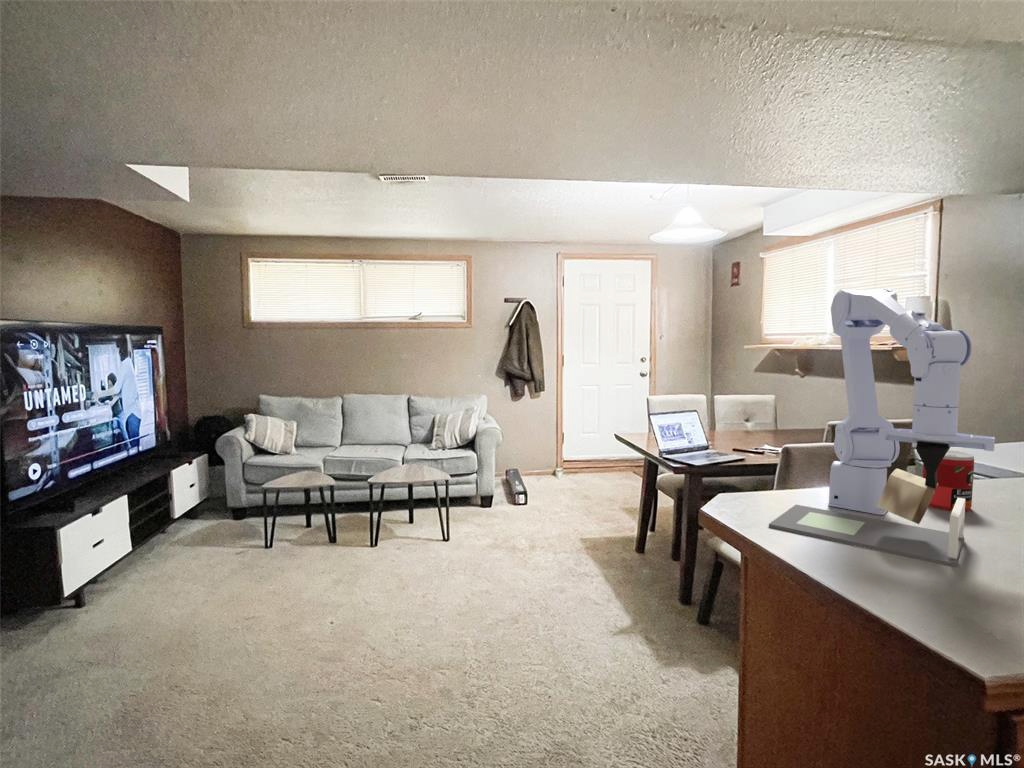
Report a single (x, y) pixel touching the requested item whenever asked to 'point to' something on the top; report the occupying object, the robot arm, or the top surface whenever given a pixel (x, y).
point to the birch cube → (906, 495)
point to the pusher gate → (956, 526)
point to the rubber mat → (869, 533)
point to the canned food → (953, 481)
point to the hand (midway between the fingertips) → (931, 488)
